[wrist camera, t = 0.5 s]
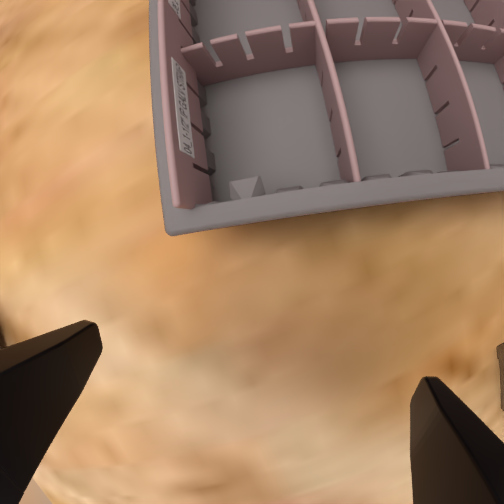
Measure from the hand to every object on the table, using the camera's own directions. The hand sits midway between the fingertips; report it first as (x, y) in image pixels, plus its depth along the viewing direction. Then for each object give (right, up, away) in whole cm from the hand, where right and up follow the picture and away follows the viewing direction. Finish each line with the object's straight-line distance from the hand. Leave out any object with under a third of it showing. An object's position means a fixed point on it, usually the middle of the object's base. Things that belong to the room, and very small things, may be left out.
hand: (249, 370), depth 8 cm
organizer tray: (+14, +23, +12) cm, 29 cm away
